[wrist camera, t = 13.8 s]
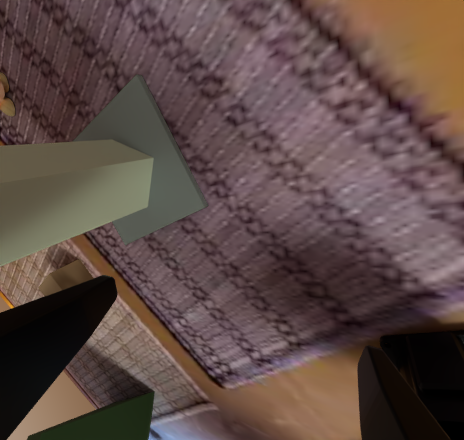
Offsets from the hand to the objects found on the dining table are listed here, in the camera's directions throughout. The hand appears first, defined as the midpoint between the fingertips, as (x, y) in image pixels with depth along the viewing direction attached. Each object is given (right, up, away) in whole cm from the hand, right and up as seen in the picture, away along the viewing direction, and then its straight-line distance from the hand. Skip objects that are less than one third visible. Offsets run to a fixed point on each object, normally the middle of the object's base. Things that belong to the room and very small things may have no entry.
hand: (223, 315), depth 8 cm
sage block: (-9, +8, +15) cm, 19 cm away
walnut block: (-21, -5, +26) cm, 34 cm away
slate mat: (-9, +8, +16) cm, 20 cm away
